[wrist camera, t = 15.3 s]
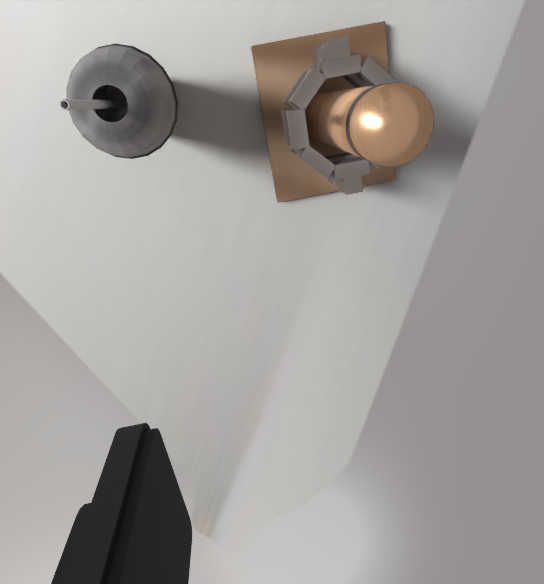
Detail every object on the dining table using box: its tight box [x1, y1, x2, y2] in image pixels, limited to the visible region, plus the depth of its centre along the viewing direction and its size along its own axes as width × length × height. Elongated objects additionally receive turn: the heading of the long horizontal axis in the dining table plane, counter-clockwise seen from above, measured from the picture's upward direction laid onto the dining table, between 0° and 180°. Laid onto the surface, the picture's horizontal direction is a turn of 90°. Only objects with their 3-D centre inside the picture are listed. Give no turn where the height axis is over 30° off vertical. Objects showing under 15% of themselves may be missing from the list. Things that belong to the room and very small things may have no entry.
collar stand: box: [251, 21, 397, 202], centre depth 39 cm, size 14×12×8 cm
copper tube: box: [305, 83, 434, 167], centre depth 34 cm, size 5×5×18 cm
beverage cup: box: [60, 44, 178, 159], centre depth 32 cm, size 7×7×20 cm
